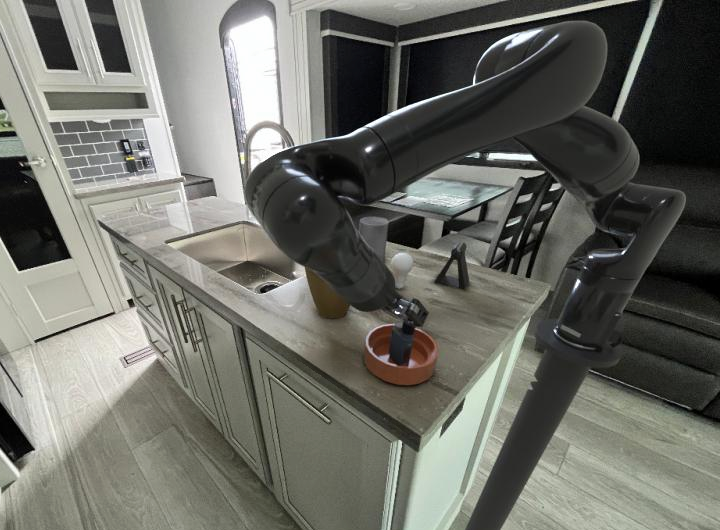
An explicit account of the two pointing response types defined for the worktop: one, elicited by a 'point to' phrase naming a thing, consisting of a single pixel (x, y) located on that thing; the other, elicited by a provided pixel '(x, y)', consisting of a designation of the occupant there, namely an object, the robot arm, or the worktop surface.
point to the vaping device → (401, 343)
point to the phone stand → (462, 270)
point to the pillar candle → (375, 233)
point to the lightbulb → (401, 268)
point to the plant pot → (325, 297)
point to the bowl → (387, 369)
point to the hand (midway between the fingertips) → (394, 313)
